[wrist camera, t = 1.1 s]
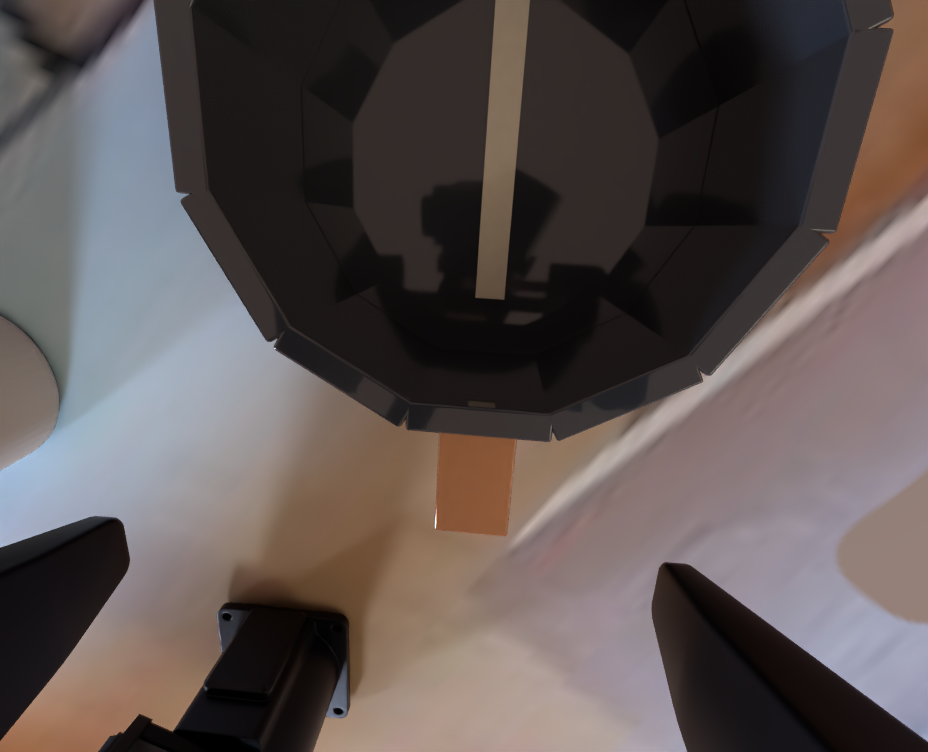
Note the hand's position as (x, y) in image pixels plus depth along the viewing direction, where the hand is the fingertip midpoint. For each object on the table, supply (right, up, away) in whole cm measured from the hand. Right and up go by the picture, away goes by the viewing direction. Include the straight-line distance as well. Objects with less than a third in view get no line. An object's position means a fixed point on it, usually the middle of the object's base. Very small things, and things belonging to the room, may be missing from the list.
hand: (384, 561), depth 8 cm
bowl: (+2, +9, +8) cm, 12 cm away
